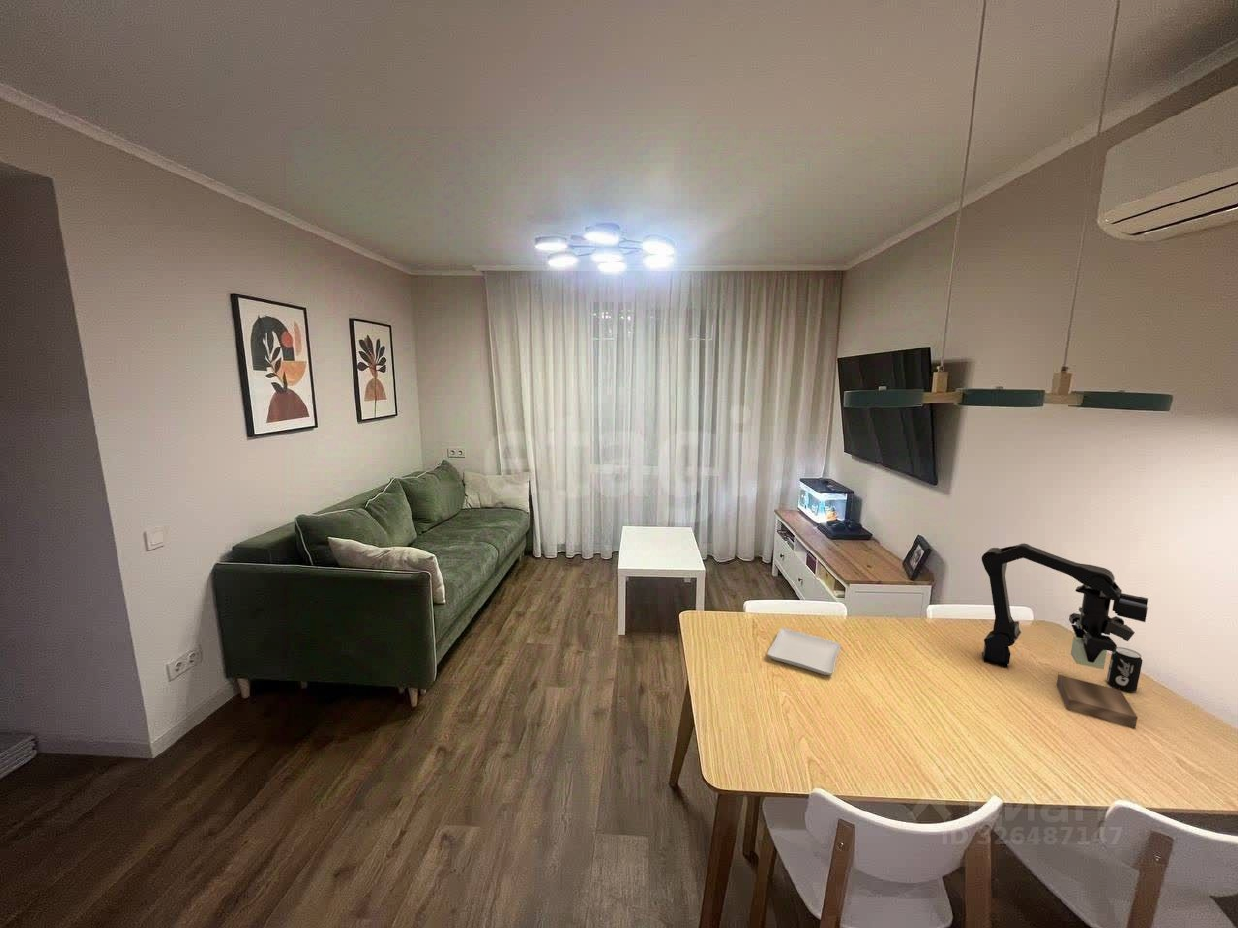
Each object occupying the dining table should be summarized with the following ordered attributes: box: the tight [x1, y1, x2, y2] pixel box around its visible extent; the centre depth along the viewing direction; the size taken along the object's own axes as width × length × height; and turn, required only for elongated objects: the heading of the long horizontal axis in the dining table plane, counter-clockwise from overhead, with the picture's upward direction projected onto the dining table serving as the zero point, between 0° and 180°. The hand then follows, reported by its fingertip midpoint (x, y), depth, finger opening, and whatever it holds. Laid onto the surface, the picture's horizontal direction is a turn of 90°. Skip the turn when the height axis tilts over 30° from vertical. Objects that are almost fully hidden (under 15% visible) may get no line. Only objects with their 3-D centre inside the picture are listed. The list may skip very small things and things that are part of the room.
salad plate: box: [766, 627, 842, 676], centre depth 164 cm, size 21×21×3 cm
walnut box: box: [1056, 674, 1139, 730], centre depth 139 cm, size 14×14×4 cm
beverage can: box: [1106, 646, 1144, 693], centre depth 147 cm, size 7×7×12 cm
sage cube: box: [1070, 636, 1108, 670], centre depth 143 cm, size 6×6×6 cm
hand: (1087, 656), depth 144 cm, fingers closed on sage cube, 6 cm apart
